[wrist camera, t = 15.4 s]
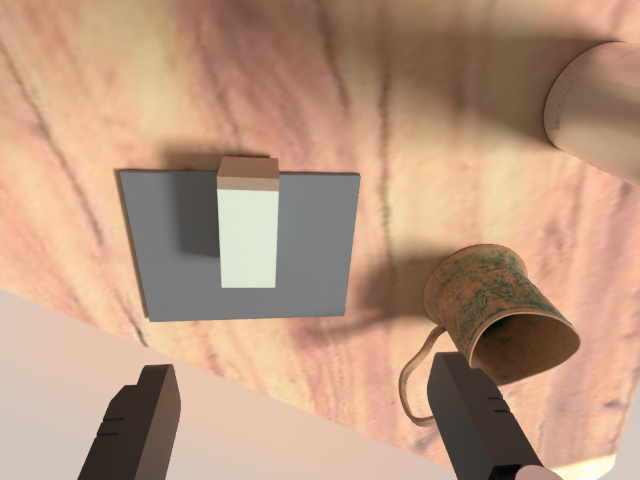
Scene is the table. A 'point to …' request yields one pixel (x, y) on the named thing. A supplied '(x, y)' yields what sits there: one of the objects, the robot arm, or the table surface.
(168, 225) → the mat
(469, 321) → the mug
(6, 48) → the table surface
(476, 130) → the table surface
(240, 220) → the block
